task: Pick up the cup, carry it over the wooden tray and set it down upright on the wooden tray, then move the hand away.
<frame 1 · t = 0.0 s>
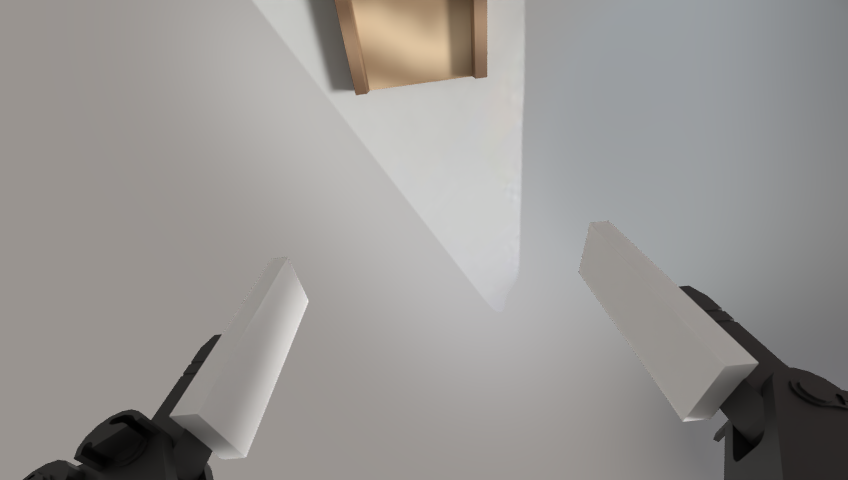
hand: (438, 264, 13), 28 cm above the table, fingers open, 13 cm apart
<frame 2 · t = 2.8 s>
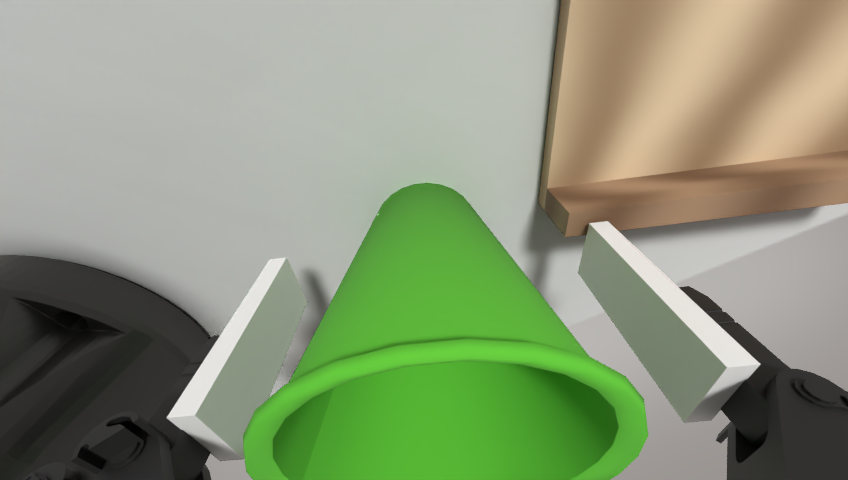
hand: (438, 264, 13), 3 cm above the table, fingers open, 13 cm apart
cup: (425, 223, 16), on the table
wooden tray: (768, 12, 11), on the table
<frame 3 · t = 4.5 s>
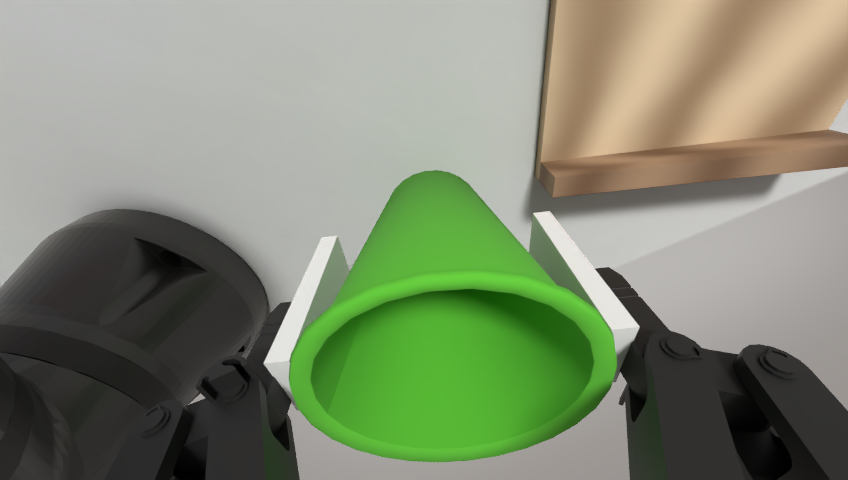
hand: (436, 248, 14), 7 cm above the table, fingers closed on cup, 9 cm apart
cup: (432, 208, 18), point 3 cm above the table, touching gripper
wooden tray: (709, 25, 15), on the table
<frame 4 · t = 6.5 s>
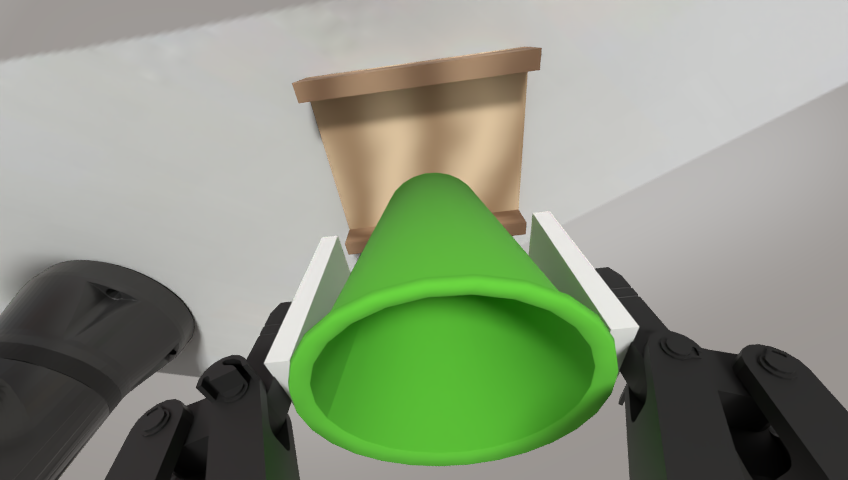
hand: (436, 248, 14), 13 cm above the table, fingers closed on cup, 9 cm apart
cup: (432, 210, 18), point 10 cm above the table, touching gripper
wooden tray: (425, 156, 26), on the table
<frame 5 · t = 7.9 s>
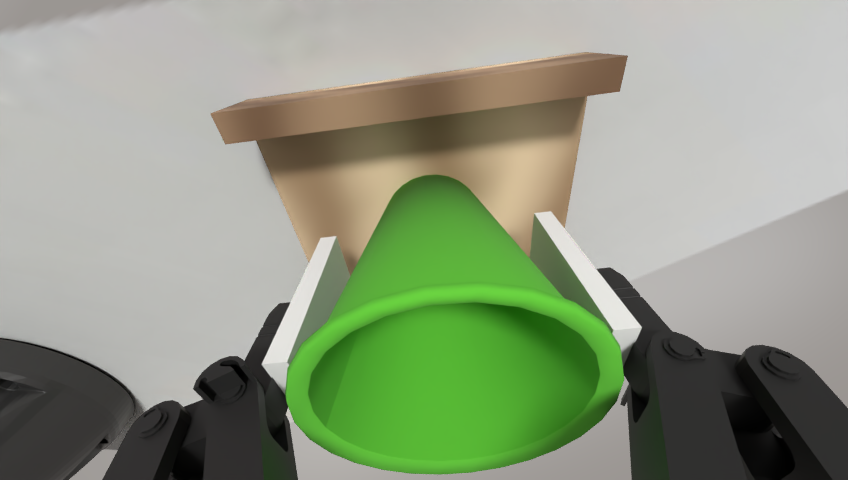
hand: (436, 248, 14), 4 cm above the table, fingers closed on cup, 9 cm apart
cup: (432, 212, 17), point 1 cm above the table, touching gripper, wooden tray
wooden tray: (429, 207, 18), on the table
when the fingers open (3 cm above the table, at t = 8.8 s): cup stays where it is, resting on wooden tray.
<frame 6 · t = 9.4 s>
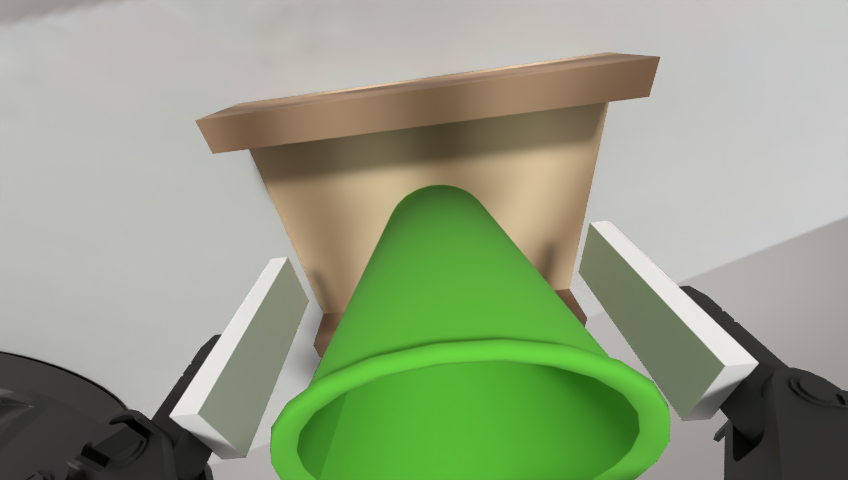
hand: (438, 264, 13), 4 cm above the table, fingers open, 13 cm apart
cup: (437, 224, 16), point 1 cm above the table, touching wooden tray
wooden tray: (434, 218, 17), on the table
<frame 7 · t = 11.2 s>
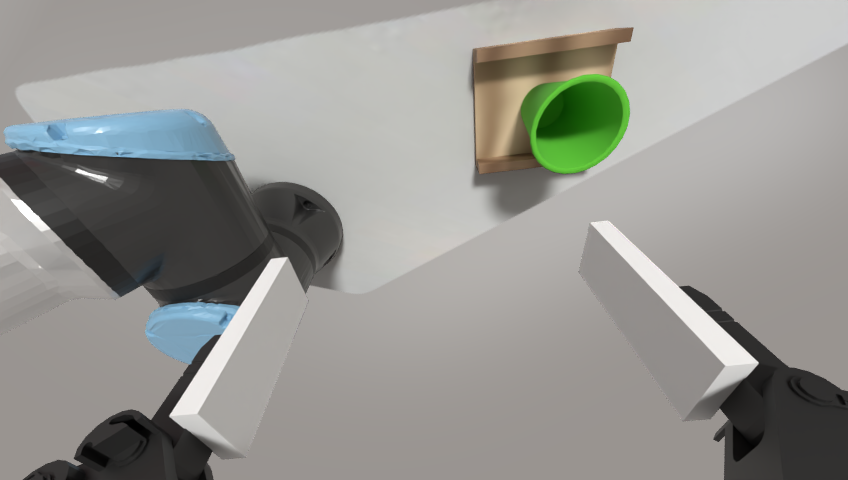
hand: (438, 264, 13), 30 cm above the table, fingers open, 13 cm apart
cup: (540, 105, 37), point 1 cm above the table, touching wooden tray
wooden tray: (538, 104, 38), on the table
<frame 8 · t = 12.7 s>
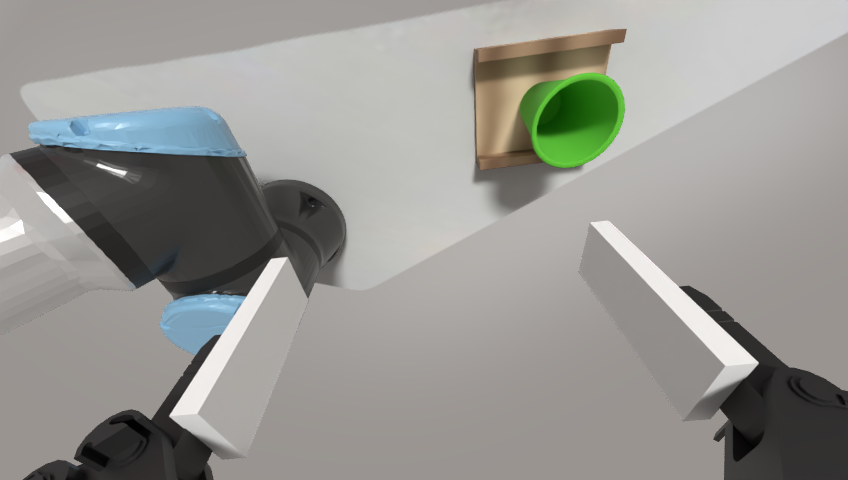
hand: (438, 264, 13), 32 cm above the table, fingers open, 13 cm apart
cup: (538, 104, 39), point 1 cm above the table, touching wooden tray
wooden tray: (536, 103, 39), on the table
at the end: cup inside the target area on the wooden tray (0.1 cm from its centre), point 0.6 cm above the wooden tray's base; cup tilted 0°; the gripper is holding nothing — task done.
